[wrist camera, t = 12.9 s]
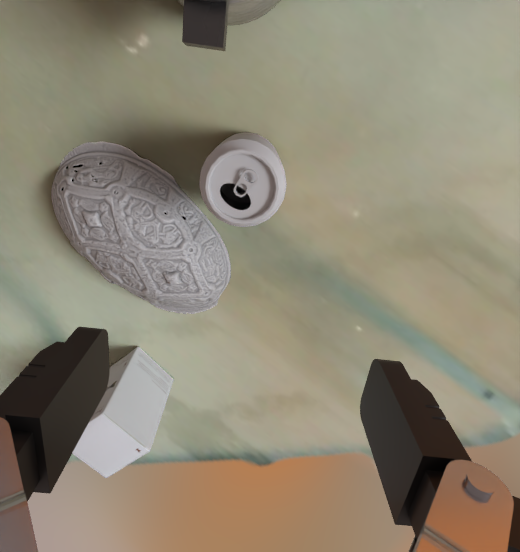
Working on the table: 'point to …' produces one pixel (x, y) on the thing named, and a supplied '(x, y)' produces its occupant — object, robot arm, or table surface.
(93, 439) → the supplement box
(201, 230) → the grey oval domed piece
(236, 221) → the can
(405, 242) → the table surface
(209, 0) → the lid
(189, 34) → the cooker
